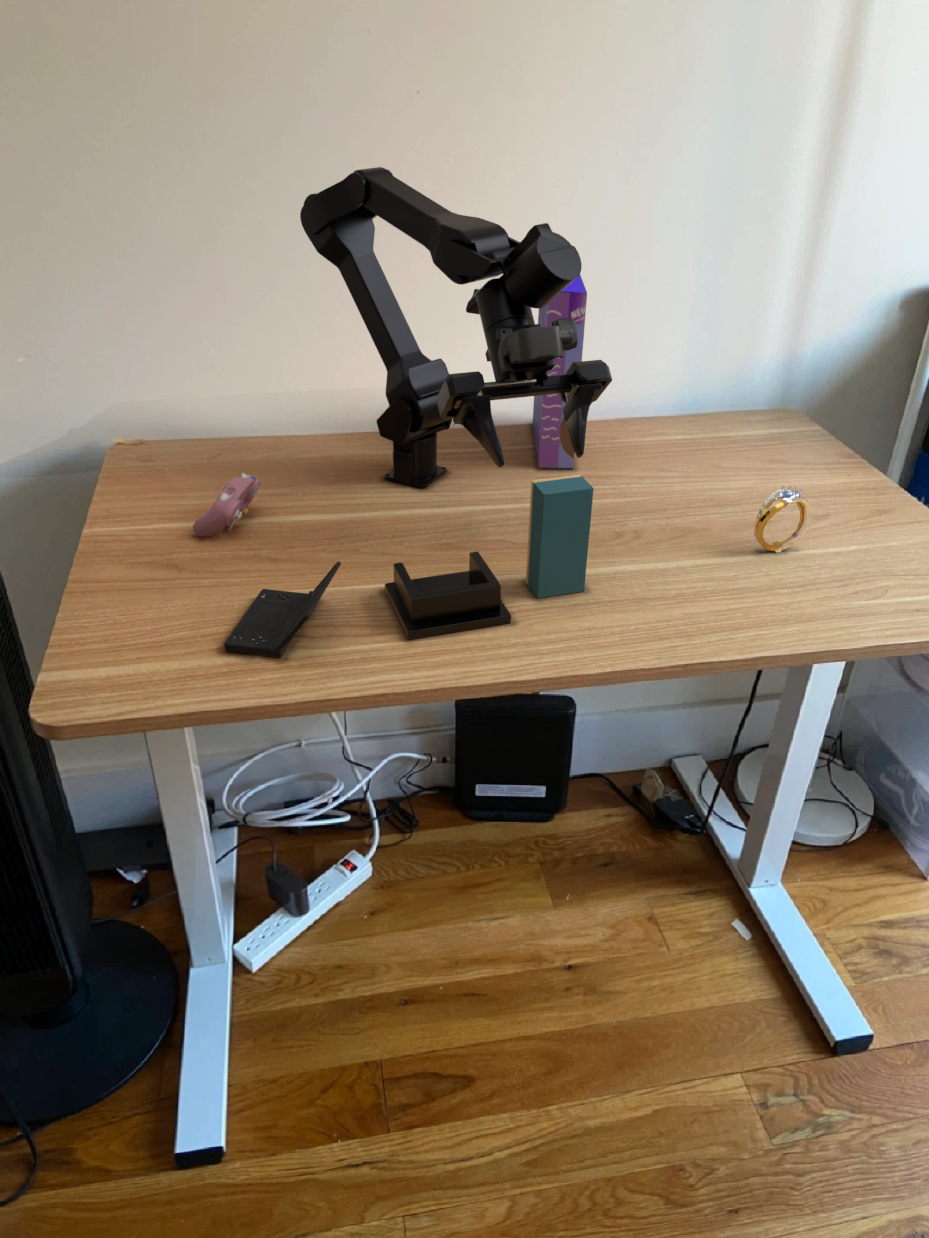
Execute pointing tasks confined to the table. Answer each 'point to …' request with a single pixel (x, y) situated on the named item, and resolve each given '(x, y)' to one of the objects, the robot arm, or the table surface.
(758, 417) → the table surface
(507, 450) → the table surface
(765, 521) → the ring
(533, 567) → the teal rectangular block
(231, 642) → the handheld gaming console
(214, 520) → the video game controller
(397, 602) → the black square holder
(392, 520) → the table surface
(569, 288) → the cereal box
